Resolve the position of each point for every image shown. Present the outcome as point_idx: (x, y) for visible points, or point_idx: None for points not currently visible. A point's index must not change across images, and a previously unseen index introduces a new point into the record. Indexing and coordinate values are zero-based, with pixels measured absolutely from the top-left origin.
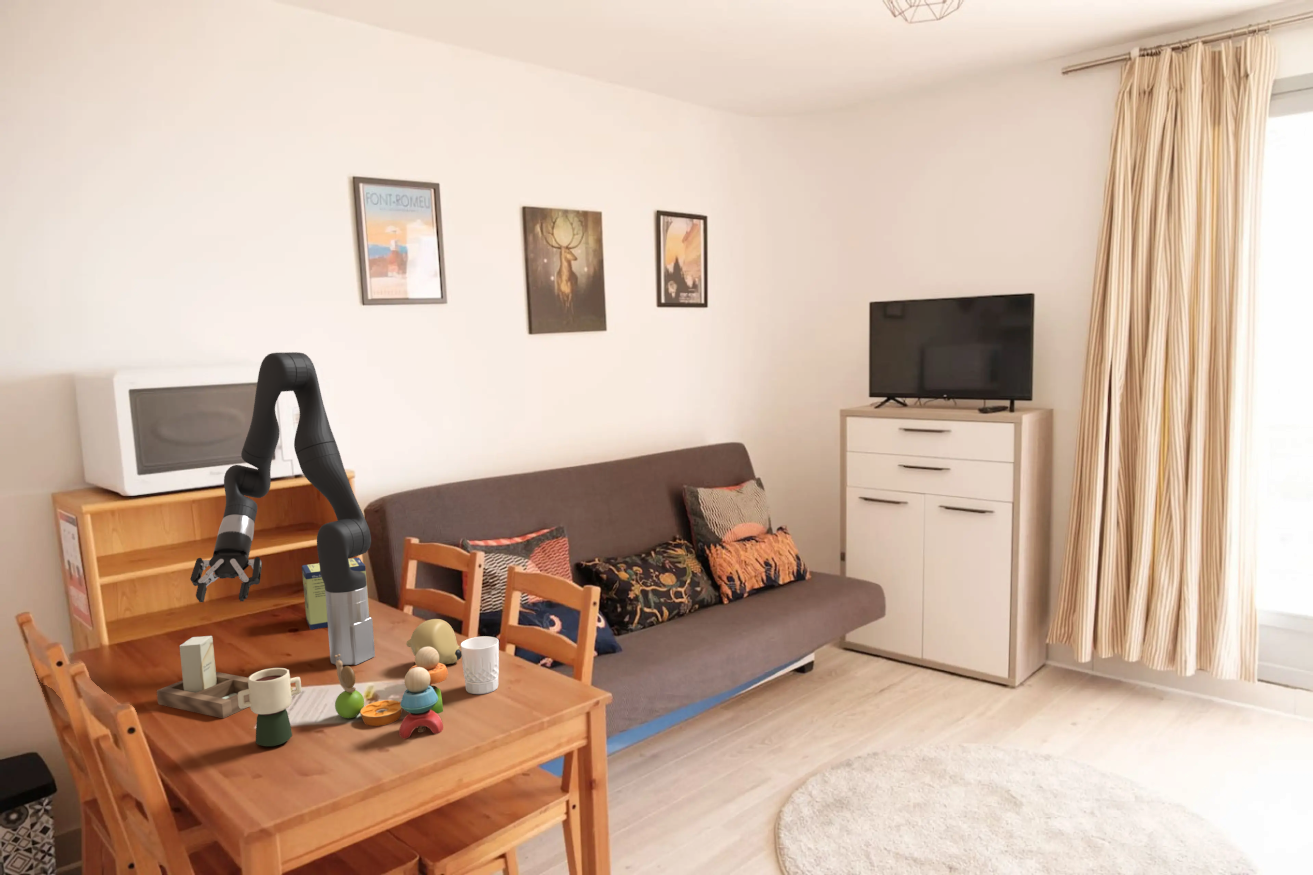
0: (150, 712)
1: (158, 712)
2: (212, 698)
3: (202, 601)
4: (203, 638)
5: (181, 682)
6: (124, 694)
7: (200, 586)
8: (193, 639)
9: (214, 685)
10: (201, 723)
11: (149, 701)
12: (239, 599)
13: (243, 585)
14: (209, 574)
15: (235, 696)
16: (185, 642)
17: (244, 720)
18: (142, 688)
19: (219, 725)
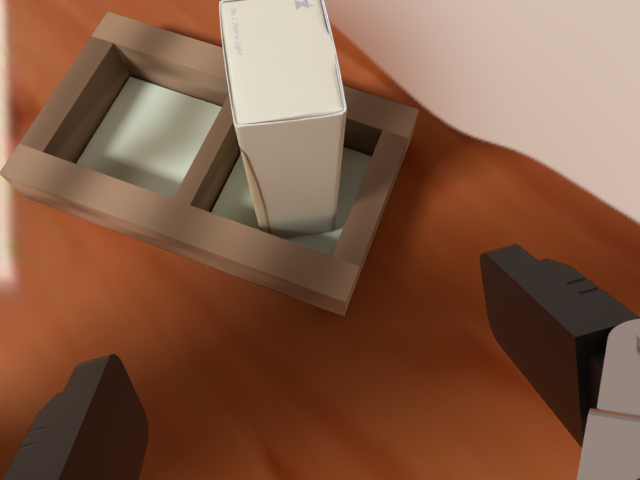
0: (388, 82)
1: (361, 82)
2: (163, 47)
3: (487, 306)
4: (259, 84)
5: (375, 177)
6: (612, 217)
7: (589, 302)
8: (310, 72)
9: (219, 147)
10: (174, 18)
11: (460, 159)
12: (128, 377)
13: (39, 458)
14: (601, 409)
15: (89, 61)
16: (326, 36)
17: (53, 34)
18: (591, 271)
19: (113, 8)
